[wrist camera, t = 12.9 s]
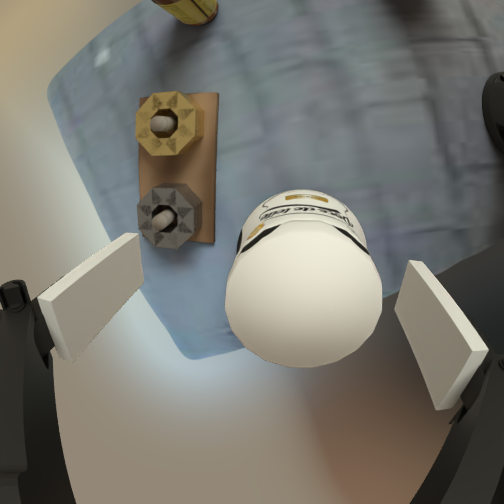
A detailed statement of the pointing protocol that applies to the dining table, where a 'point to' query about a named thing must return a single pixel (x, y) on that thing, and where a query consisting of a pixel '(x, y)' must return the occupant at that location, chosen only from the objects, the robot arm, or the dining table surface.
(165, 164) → the gear board
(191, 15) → the sauce bottle
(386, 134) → the dining table surface
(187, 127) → the brass gear
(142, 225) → the steel gear
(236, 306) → the milk container
